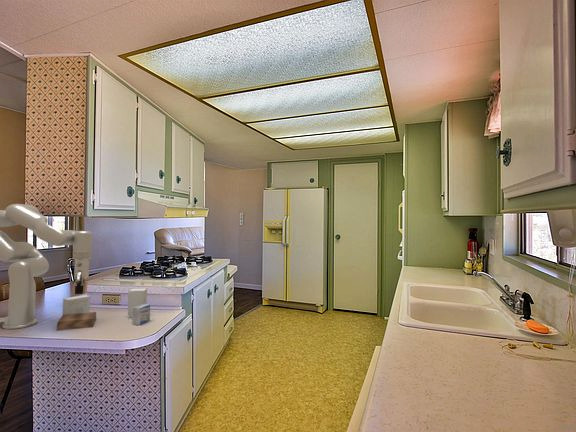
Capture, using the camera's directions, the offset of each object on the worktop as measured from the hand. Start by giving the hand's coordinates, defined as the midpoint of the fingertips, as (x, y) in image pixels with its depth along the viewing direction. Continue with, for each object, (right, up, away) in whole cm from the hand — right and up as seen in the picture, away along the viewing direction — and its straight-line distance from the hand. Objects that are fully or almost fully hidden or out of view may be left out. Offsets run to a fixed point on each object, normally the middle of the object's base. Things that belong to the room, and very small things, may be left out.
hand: (79, 292), depth 144 cm
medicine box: (+27, -17, +6) cm, 33 cm away
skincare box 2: (+20, -18, +16) cm, 31 cm away
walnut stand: (-1, -16, -1) cm, 16 cm away
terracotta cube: (0, -1, 0) cm, 1 cm away
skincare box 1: (-10, -16, +11) cm, 22 cm away
